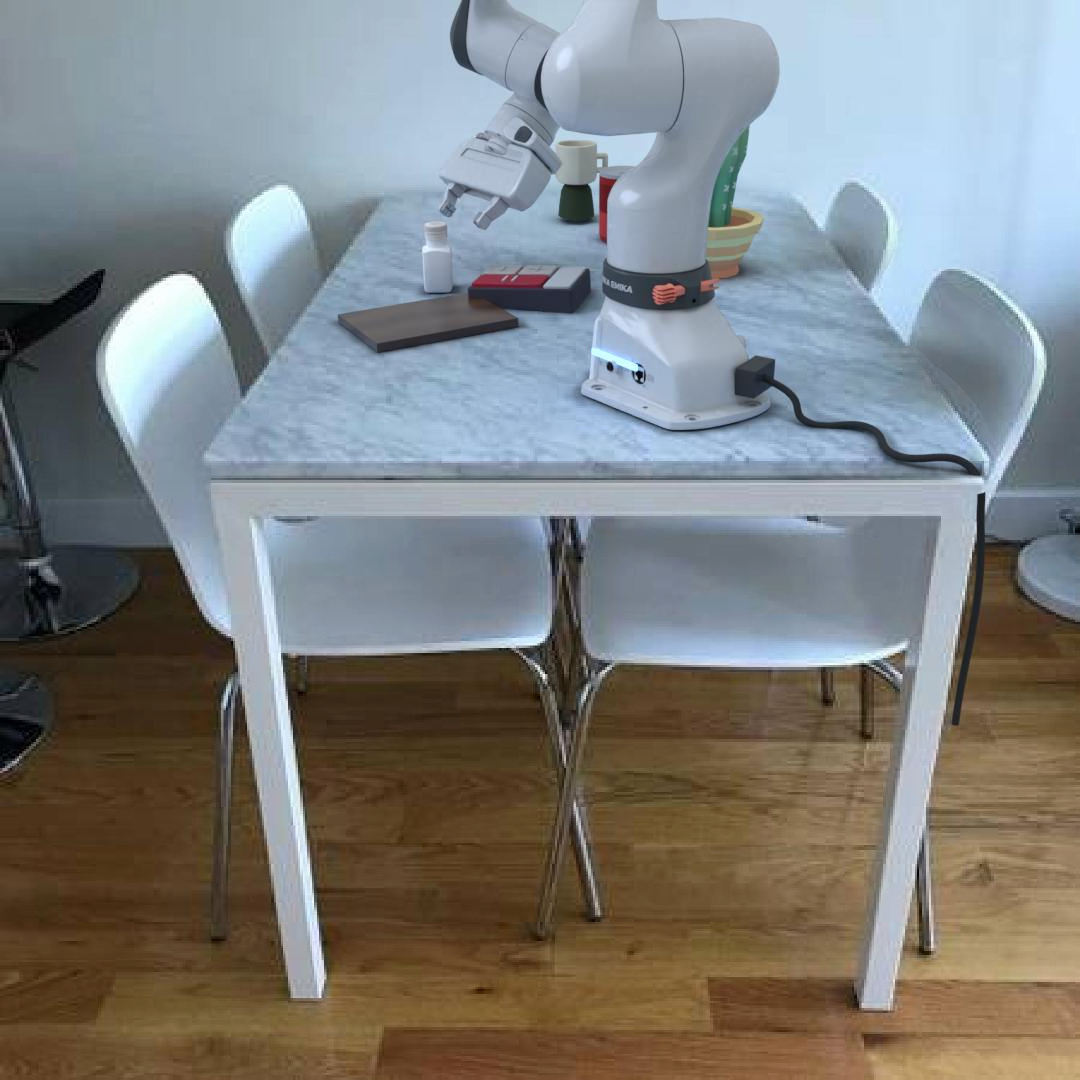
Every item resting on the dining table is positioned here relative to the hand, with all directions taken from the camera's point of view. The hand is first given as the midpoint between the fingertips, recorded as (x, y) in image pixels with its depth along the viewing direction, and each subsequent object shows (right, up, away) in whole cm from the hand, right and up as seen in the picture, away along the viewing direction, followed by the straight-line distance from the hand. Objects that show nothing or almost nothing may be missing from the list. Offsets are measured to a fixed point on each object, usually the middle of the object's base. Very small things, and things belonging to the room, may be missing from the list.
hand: (460, 220), depth 176 cm
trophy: (+18, +10, +38) cm, 43 cm away
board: (-4, -17, -12) cm, 21 cm away
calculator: (+10, -12, -2) cm, 16 cm away
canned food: (+25, +4, +27) cm, 37 cm away
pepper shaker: (-3, -10, +2) cm, 10 cm away
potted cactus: (+37, -5, +9) cm, 38 cm away
